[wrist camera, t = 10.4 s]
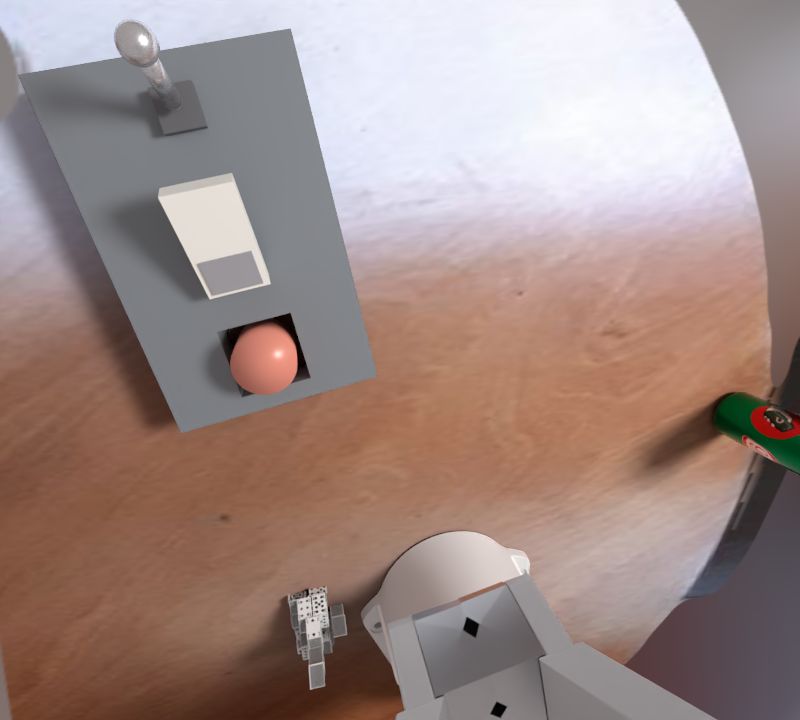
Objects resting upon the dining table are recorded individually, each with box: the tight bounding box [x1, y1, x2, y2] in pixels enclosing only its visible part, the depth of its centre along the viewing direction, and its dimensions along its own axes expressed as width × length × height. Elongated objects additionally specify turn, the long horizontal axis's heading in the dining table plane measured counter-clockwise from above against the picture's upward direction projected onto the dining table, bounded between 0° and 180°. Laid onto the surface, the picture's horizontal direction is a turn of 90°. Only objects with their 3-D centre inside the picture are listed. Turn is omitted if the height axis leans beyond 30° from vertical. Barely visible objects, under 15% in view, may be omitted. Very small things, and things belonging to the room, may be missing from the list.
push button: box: [230, 318, 297, 395], centre depth 33 cm, size 4×4×4 cm
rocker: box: [158, 173, 271, 299], centre depth 27 cm, size 7×4×1 cm, turn 12°
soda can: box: [713, 392, 800, 475], centre depth 44 cm, size 5×5×12 cm
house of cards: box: [288, 586, 347, 690], centre depth 43 cm, size 9×9×8 cm
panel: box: [18, 29, 377, 433], centre depth 30 cm, size 23×15×4 cm, turn 12°
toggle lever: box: [114, 19, 182, 111], centre depth 22 cm, size 2×2×6 cm
